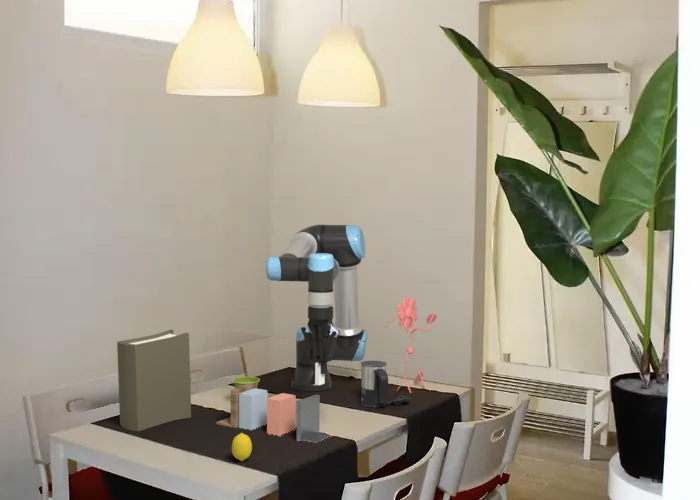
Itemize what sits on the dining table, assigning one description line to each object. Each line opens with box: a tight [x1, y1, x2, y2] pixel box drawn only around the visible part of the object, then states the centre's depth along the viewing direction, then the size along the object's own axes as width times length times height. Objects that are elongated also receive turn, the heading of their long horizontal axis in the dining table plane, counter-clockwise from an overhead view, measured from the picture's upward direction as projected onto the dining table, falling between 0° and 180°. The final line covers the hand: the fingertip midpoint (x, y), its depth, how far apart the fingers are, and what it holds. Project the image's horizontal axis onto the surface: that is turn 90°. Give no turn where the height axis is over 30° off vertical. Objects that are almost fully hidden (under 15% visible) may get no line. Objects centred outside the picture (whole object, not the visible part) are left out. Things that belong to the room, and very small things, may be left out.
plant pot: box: [232, 376, 261, 389], centre depth 285 cm, size 9×9×9 cm
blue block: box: [238, 387, 268, 431], centre depth 260 cm, size 8×5×11 cm, turn 148°
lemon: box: [231, 432, 253, 462], centre depth 227 cm, size 6×6×8 cm
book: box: [116, 329, 192, 432], centre depth 262 cm, size 22×9×28 cm, turn 140°
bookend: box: [296, 394, 332, 444], centre depth 247 cm, size 10×6×12 cm, turn 149°
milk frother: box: [360, 360, 411, 408], centre depth 287 cm, size 14×16×15 cm
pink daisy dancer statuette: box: [384, 296, 438, 394], centre depth 309 cm, size 15×26×35 cm, turn 139°
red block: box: [266, 392, 297, 437], centre depth 254 cm, size 8×5×11 cm, turn 148°
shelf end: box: [215, 383, 256, 429], centre depth 263 cm, size 10×8×12 cm
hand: (319, 384), depth 245 cm, fingers closed
